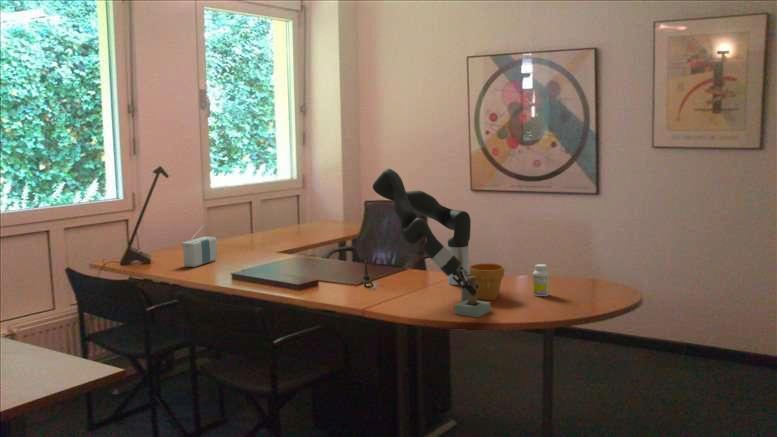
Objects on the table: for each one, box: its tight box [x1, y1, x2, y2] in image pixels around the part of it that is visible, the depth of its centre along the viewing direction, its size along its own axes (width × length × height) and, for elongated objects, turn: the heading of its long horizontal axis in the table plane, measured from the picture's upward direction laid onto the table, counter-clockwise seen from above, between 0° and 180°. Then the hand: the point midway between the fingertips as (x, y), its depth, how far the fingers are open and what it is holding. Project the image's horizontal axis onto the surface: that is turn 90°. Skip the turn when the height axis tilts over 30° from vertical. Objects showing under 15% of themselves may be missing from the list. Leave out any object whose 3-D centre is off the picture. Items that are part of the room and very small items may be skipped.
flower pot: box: [469, 263, 505, 301], centre depth 310 cm, size 14×14×13 cm
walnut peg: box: [468, 276, 478, 306], centre depth 287 cm, size 3×3×14 cm
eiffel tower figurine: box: [359, 259, 381, 291], centre depth 337 cm, size 15×10×13 cm
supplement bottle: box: [532, 263, 550, 297], centre depth 312 cm, size 7×7×13 cm
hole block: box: [454, 299, 491, 318], centre depth 288 cm, size 10×10×4 cm
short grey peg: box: [461, 287, 468, 302], centre depth 300 cm, size 3×3×7 cm
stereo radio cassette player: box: [181, 224, 218, 268], centre depth 396 cm, size 21×8×20 cm, turn 158°
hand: (476, 291), depth 287 cm, fingers open, 8 cm apart
